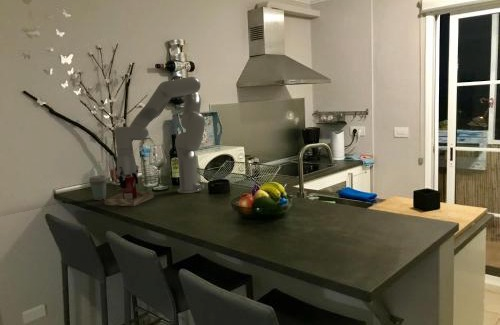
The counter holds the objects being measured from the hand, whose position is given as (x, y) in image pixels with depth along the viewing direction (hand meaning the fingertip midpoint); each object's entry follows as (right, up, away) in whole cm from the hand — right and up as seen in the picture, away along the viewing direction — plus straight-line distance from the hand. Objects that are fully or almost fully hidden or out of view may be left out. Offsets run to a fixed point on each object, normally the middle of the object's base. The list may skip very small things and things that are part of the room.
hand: (129, 185), depth 208 cm
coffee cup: (-18, -8, +9) cm, 21 cm away
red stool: (0, -7, +1) cm, 7 cm away
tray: (0, -8, +1) cm, 8 cm away
